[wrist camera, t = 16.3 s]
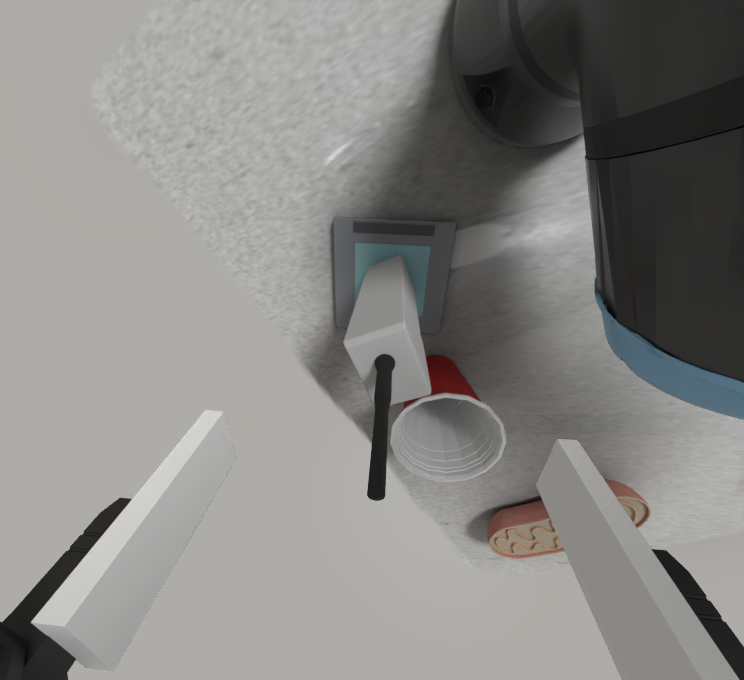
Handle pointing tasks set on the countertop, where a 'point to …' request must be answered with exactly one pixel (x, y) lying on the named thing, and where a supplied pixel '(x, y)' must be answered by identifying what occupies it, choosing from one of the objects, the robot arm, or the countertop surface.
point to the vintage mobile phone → (386, 352)
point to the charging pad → (386, 240)
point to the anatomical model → (548, 525)
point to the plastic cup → (447, 429)
